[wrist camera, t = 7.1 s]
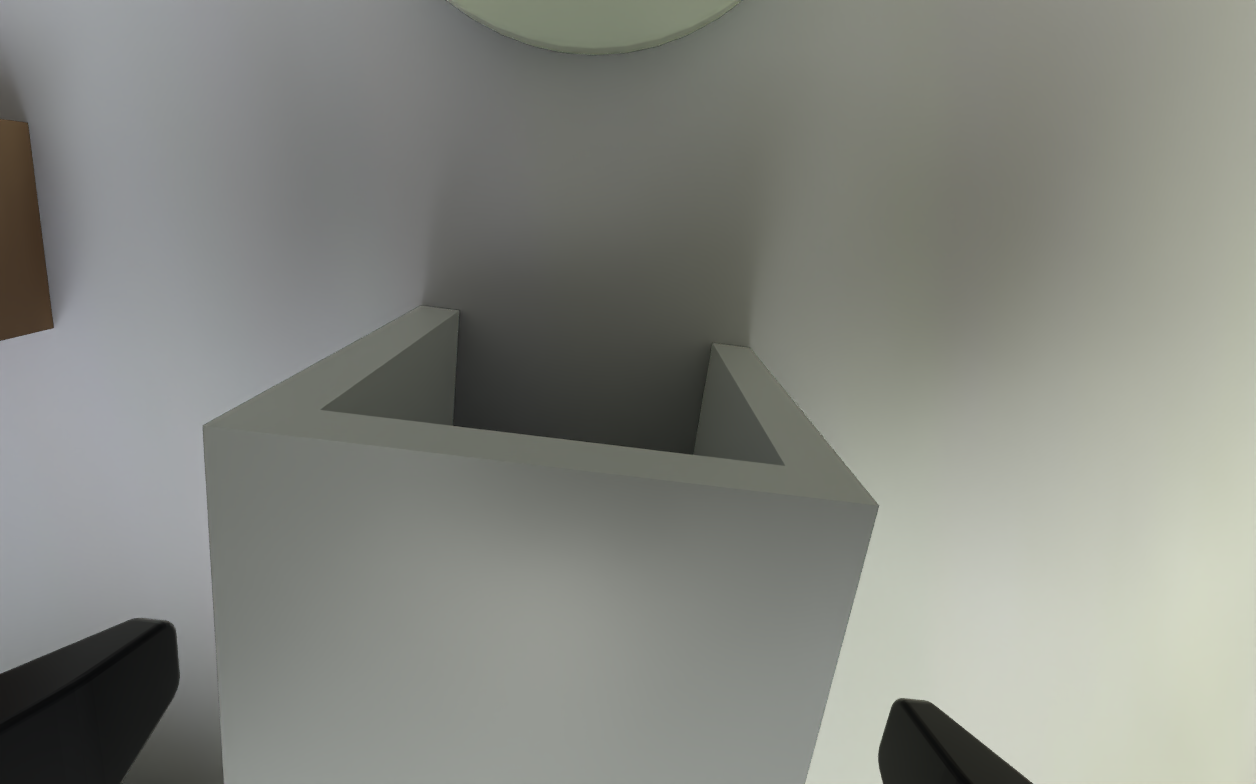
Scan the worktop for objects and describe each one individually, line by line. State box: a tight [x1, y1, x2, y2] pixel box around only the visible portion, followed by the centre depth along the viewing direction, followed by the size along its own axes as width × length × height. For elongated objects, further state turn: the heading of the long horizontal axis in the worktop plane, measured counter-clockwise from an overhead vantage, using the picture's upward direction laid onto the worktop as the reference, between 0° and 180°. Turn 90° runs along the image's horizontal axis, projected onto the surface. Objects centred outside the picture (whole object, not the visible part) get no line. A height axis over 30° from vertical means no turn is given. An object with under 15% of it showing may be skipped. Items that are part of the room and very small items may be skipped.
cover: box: [203, 306, 879, 784], centre depth 11 cm, size 7×7×7 cm
